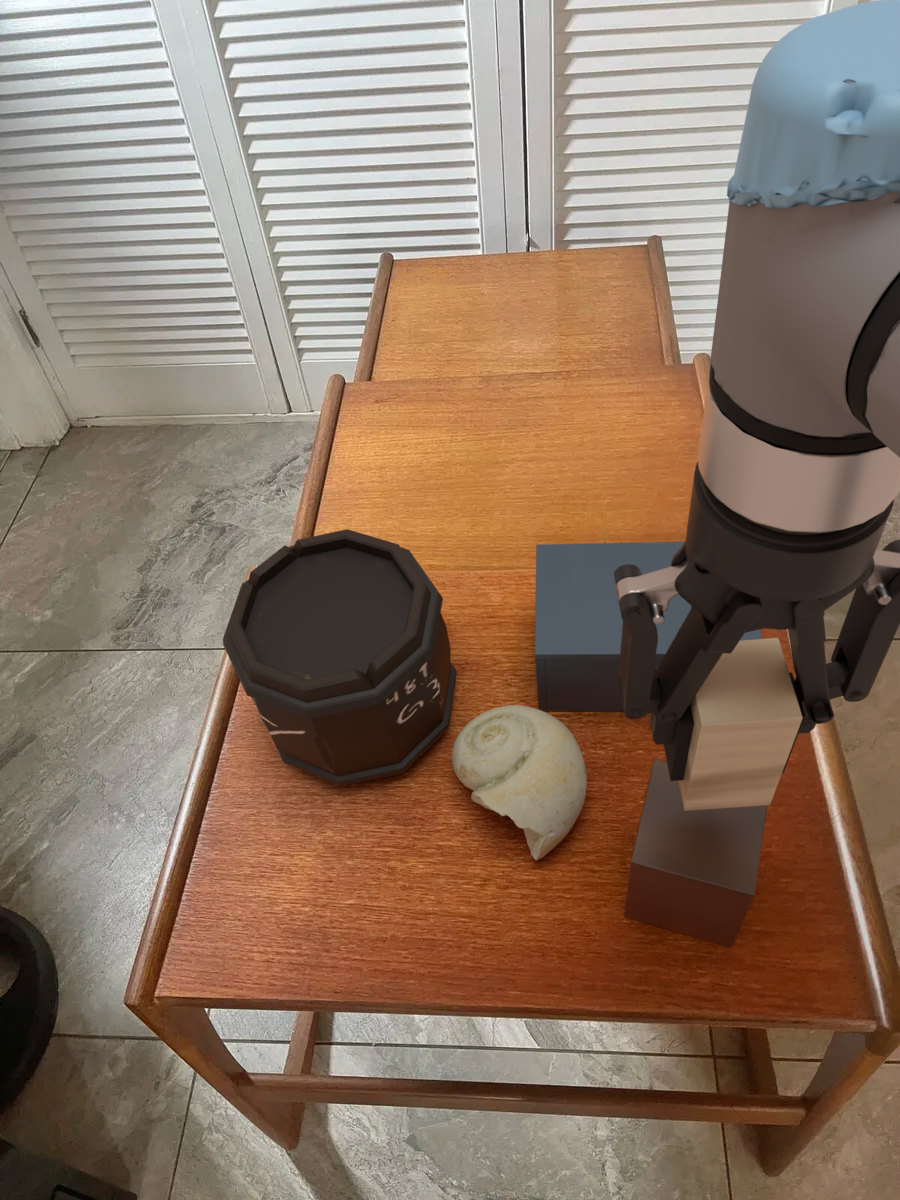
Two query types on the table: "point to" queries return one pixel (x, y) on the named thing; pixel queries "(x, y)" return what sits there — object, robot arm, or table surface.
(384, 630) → the octagonal dark pot
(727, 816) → the plinth
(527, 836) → the seashell
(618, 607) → the lid
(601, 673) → the chest
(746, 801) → the block
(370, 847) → the table surface
